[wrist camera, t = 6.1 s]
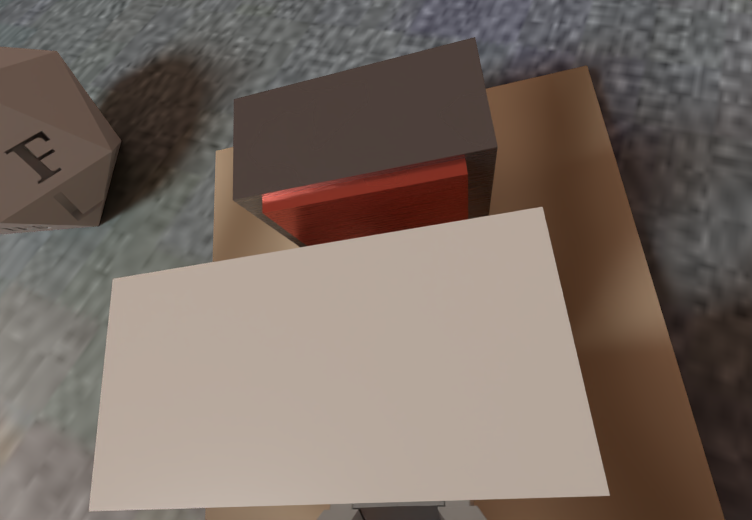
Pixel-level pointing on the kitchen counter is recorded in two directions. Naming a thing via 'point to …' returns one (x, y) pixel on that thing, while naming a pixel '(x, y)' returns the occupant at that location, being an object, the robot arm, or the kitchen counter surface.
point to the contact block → (369, 148)
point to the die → (50, 146)
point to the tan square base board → (583, 303)
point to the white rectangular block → (348, 376)
